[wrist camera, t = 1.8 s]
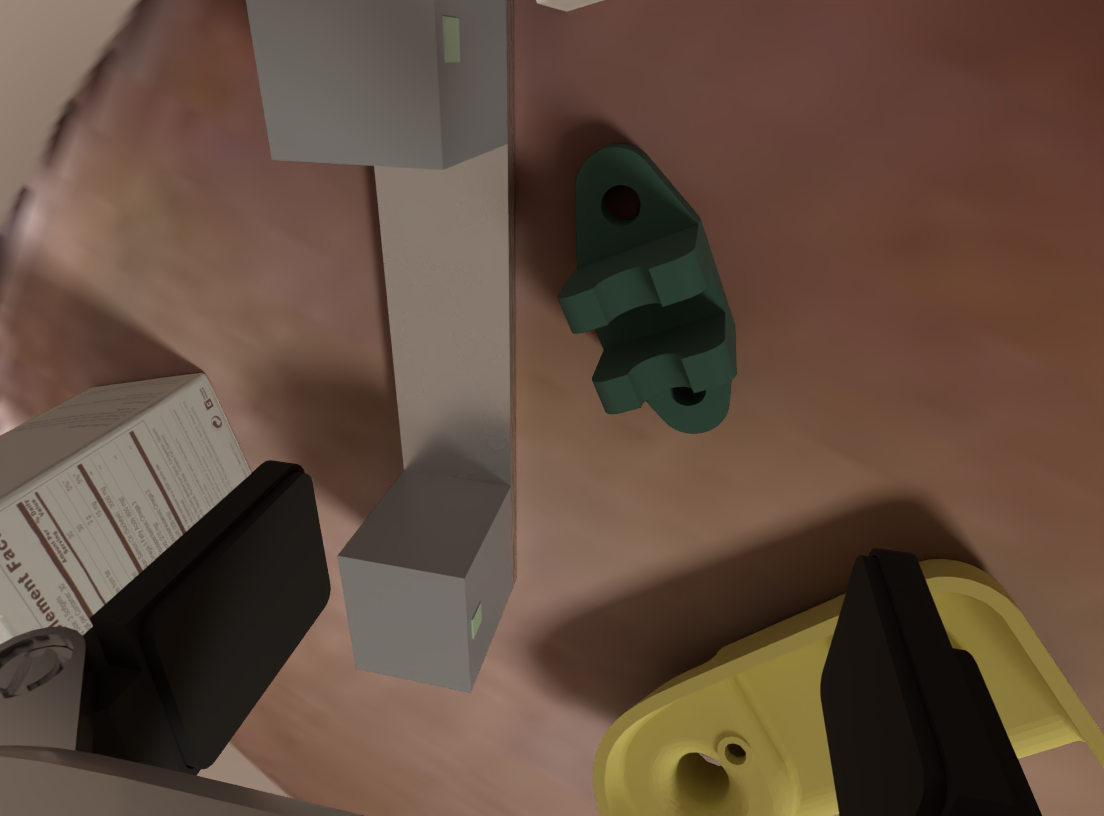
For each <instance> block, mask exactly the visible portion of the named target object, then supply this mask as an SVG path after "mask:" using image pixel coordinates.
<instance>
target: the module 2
mask: <svg viewBox="0 0 1104 816" xmlns="http://www.w3.org/2000/svg"><path fill="white" fill-rule="evenodd" d="M337 557H338V563H339V569H340V575H341V581H342V587H343V593H344V599H345V605H346V611H347V617H348V623H349V629H350V635H351V641H352V647H353V653H354V660H355V666H356V669H360V670H365V671H369V672H374V673H379V674H384V675H388V676H393V677H398V678H402V679H407V680H412V681H416V682H421V683H426V684H430V685H435V686H440V687H444V688H449V689H454V690H459V691H463V692H468V693H471V691H472V688H473V686H474V683H475V681H476V678H477V676H478V673H479V671H480V668H481V666H482V663H483V661H484V658H485V656H486V653H487V651H488V649H489V646H490V644H491V641H492V639H493V636H494V634H495V631H496V629H497V626H498V624H499V621H500V619H501V616H502V614H503V611H504V609H505V606H506V604H507V601H508V599H509V596H510V594H511V591H512V554H511V486H505V485H498V484H492V483H485V482H478V481H472V480H465V479H458V478H452V477H445V476H439V475H432V474H425V473H419V472H412V471H405V470H404V471H403V472H402V473H401V475H400V476H399V477H398V479H397V480H396V481H395V482H394V484H393V485H392V486H391V488H390V489H389V490H388V491H387V493H386V494H385V495H384V497H383V498H382V499H381V500H380V502H379V503H378V504H377V506H376V507H375V508H374V509H373V511H372V512H371V513H370V515H369V516H368V517H367V518H366V520H365V521H364V522H363V524H362V525H361V526H360V527H359V529H358V530H357V531H356V533H355V534H354V535H353V536H352V538H351V539H350V540H349V542H348V543H347V544H346V545H345V547H344V548H343V549H342V551H341V552H340V553H339V554H338V556H337Z"/></svg>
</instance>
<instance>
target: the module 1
mask: <svg viewBox="0 0 1104 816" xmlns="http://www.w3.org/2000/svg"><path fill="white" fill-rule="evenodd" d="M246 5H247V11H248V17H249V23H250V29H251V35H252V41H253V47H254V53H255V59H256V66H257V72H258V78H259V84H260V90H261V96H262V102H263V108H264V114H265V120H266V126H267V132H268V138H269V144H270V150H271V156H272V160H284V161H301V162H318V163H335V164H352V165H368V166H385V167H402V168H419V169H436V170H444V169H447V168H449V167H452V166H454V165H457V164H459V163H462V162H464V161H467V160H469V159H471V158H474V157H476V156H479V155H481V154H484V153H486V152H489V151H491V150H494V149H496V148H499V147H501V146H504V145H506V144H508V139H507V35H506V0H246Z"/></svg>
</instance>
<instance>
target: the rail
mask: <svg viewBox="0 0 1104 816" xmlns="http://www.w3.org/2000/svg"><path fill="white" fill-rule="evenodd" d="M506 35H507V139H508V144H506V145H504V146H501V147H499V148H496V149H494V150H491V151H489V152H486V153H484V154H481V155H479V156H476V157H474V158H471V159H469V160H467V161H464V162H462V163H459V164H457V165H454V166H452V167H449V168H447V169H444V170H436V169H419V168H402V167H385V166H374V170H375V180H376V190H377V200H378V211H379V221H380V231H381V241H382V251H383V262H384V272H385V282H386V292H387V302H388V313H389V323H390V333H391V343H392V353H393V364H394V374H395V384H396V394H397V404H398V415H399V425H400V435H401V445H402V455H403V466H404V470H405V471H412V472H419V473H425V474H432V475H439V476H445V477H452V478H458V479H465V480H472V481H478V482H485V483H492V484H498V485H505V486H511V554H512V589H513V586H514V584H515V581H516V418H515V234H514V49H513V0H506Z"/></svg>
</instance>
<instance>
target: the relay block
mask: <svg viewBox="0 0 1104 816" xmlns="http://www.w3.org/2000/svg"><path fill="white" fill-rule="evenodd" d="M536 1H537V3H538V4H541V5H545V6H548V7H552V8H556V9H559V10H563V11H566V12H567V11H570V10H574V9H577V8H580V7H583V6H587V5H590V4H593V3H596V2H600V1H603V0H536Z"/></svg>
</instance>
